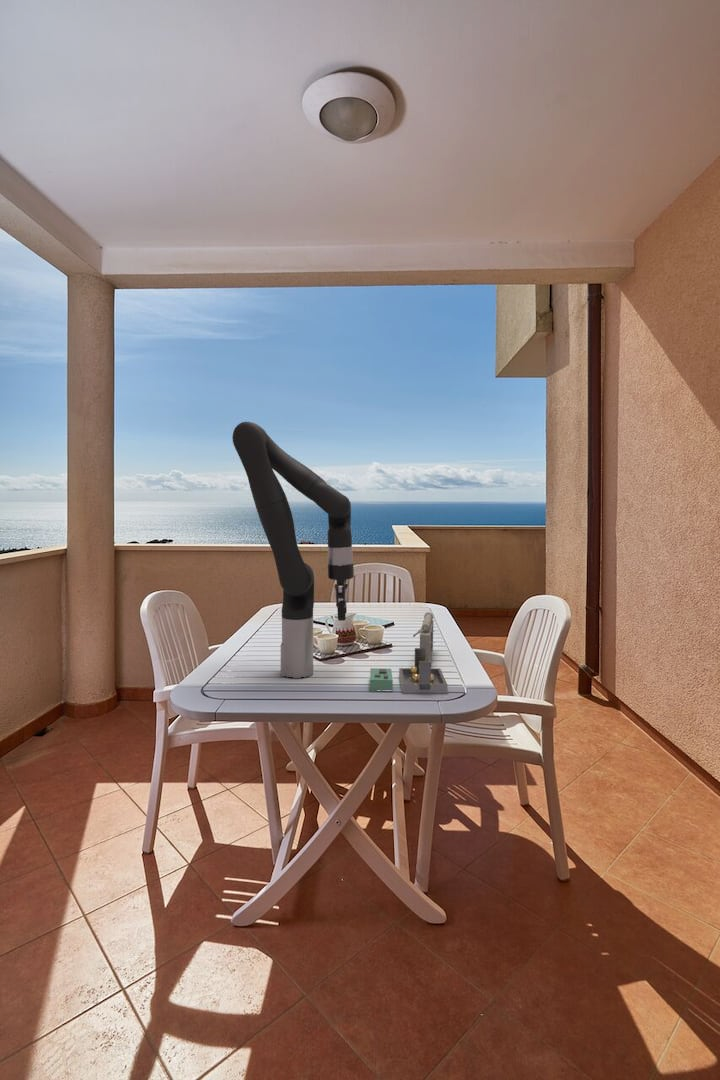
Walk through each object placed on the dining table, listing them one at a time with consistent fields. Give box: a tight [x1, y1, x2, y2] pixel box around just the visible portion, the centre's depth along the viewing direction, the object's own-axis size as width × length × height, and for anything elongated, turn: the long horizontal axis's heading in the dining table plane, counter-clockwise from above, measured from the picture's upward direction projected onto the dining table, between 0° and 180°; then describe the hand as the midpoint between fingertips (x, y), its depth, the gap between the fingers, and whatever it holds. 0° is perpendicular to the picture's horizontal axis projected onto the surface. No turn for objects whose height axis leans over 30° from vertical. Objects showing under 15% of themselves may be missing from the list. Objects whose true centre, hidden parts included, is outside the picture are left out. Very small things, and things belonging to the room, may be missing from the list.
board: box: [369, 667, 394, 692], centre depth 140 cm, size 6×10×4 cm, turn 179°
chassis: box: [398, 647, 448, 695], centre depth 140 cm, size 12×13×8 cm
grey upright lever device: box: [412, 611, 436, 663], centre depth 166 cm, size 14×6×25 cm
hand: (342, 616), depth 148 cm, fingers open, 8 cm apart
